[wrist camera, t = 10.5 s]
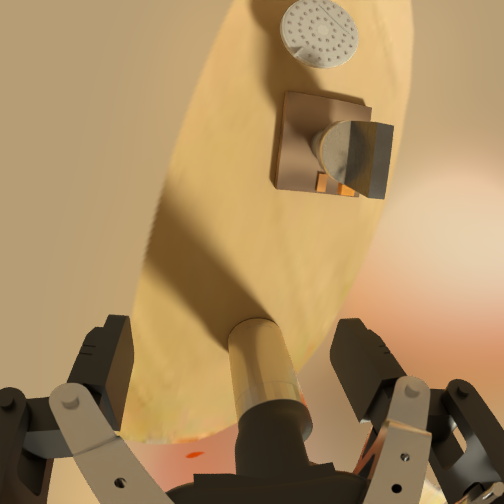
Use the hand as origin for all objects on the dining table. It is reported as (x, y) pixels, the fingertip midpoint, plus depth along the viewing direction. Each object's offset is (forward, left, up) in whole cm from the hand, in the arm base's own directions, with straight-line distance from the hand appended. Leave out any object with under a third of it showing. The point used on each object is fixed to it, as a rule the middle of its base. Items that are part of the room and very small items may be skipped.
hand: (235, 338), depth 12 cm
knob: (+5, -14, -24) cm, 29 cm away
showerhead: (+20, -10, -32) cm, 39 cm away
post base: (+6, -14, -32) cm, 36 cm away
